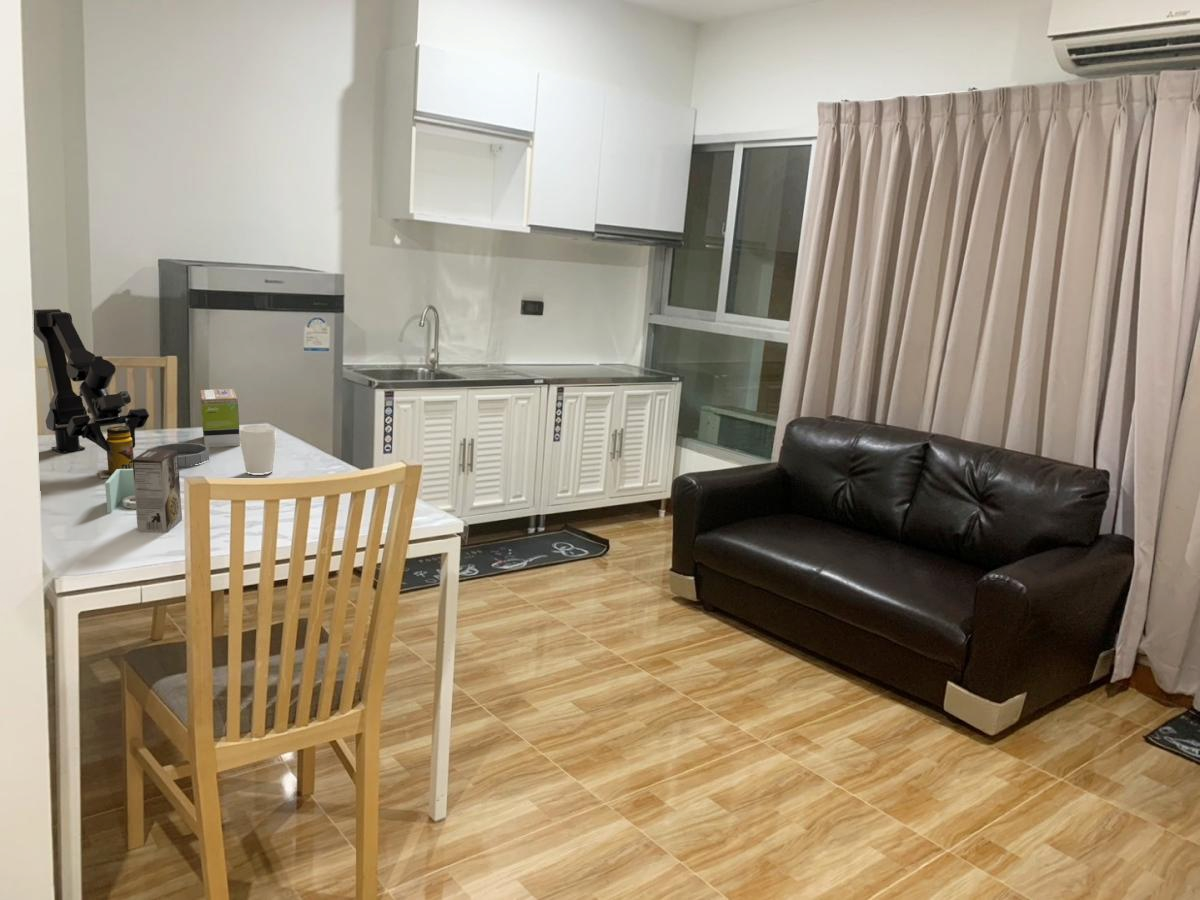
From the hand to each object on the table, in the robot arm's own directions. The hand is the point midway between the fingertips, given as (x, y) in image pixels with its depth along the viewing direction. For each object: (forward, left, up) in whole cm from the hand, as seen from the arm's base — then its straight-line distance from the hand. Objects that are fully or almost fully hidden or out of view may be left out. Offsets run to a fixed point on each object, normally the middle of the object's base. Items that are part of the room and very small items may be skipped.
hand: (121, 448), depth 234 cm
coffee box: (+45, -13, -7) cm, 47 cm away
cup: (+21, +26, -7) cm, 34 cm away
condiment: (-1, -1, -7) cm, 7 cm away
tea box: (-17, +37, -7) cm, 41 cm away
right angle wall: (+27, -9, -7) cm, 29 cm away
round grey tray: (-4, +17, -7) cm, 19 cm away
